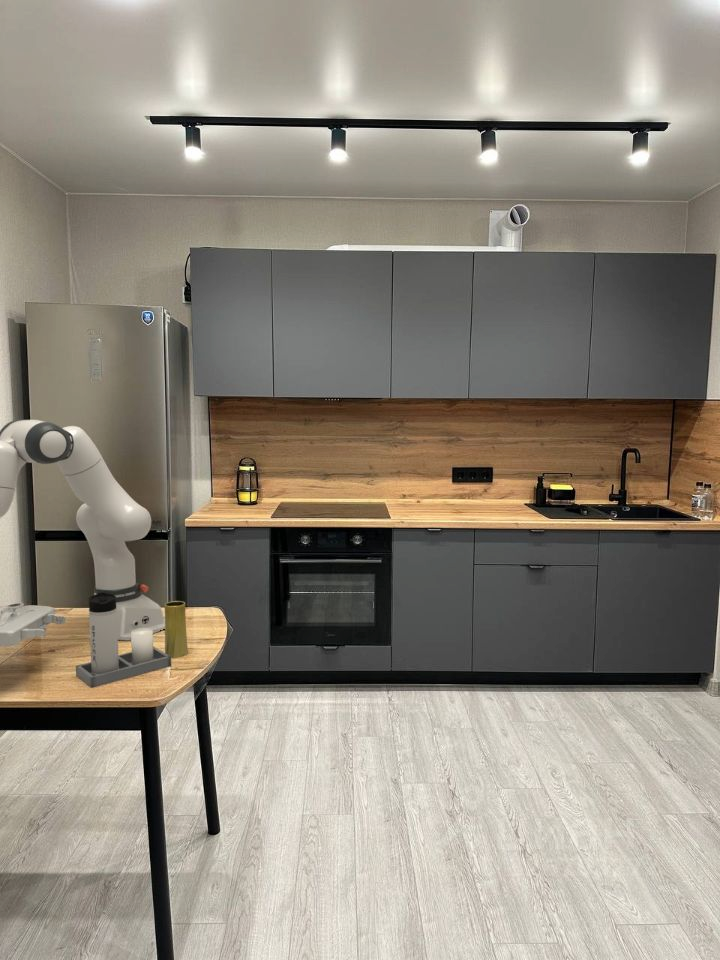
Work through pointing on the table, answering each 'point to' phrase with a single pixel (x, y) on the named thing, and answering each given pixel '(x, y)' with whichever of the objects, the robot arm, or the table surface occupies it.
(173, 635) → the vase
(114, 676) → the caddy
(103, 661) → the travel mug
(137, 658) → the white cylinder
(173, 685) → the table surface
